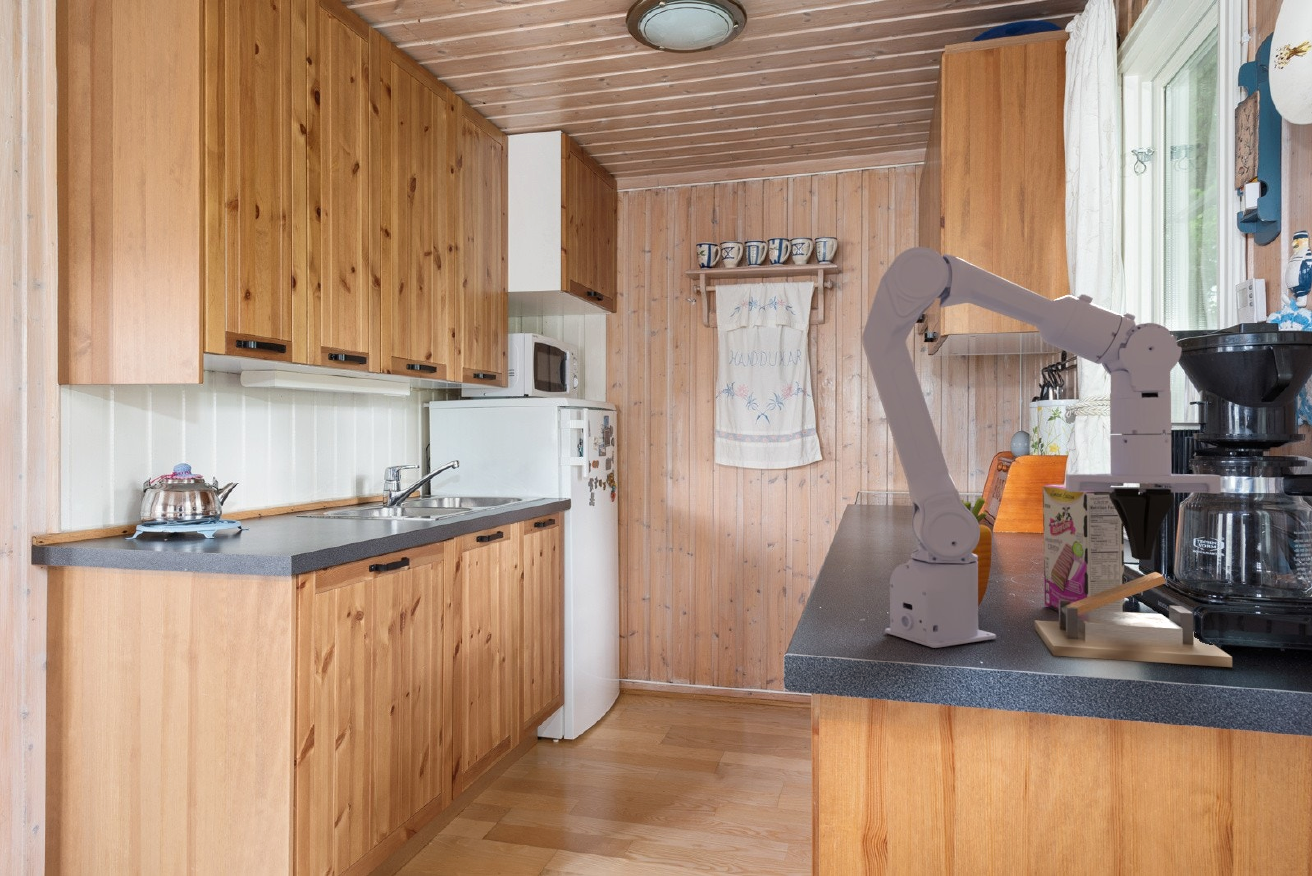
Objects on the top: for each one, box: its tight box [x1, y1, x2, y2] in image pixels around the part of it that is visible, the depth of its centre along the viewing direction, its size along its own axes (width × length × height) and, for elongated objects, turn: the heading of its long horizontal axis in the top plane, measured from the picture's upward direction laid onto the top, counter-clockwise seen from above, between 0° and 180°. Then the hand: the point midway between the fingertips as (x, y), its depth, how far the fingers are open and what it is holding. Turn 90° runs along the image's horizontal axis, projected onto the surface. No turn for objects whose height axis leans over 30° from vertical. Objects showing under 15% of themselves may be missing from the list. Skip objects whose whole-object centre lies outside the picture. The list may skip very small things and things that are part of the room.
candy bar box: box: [1042, 484, 1126, 613], centre depth 101 cm, size 11×5×16 cm, turn 179°
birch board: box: [1034, 619, 1233, 668], centre depth 86 cm, size 16×12×1 cm
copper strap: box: [1061, 571, 1167, 615], centre depth 87 cm, size 10×2×1 cm, turn 73°
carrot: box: [961, 497, 993, 608], centre depth 104 cm, size 5×5×15 cm
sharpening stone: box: [1058, 599, 1195, 648], centre depth 86 cm, size 12×7×3 cm, turn 73°
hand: (1141, 558), depth 87 cm, fingers closed
